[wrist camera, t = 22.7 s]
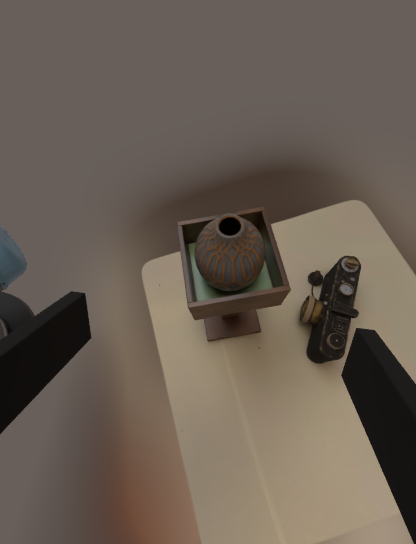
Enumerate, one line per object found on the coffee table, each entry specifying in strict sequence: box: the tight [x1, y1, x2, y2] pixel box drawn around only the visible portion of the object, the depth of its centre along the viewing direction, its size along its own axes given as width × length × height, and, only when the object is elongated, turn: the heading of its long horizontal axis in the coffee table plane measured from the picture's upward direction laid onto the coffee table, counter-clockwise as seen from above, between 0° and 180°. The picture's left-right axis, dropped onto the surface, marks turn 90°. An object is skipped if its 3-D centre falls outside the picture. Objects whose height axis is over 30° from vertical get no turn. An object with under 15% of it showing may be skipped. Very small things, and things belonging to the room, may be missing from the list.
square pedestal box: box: [177, 207, 291, 341], centre depth 36 cm, size 10×10×22 cm
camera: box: [300, 256, 361, 363], centre depth 41 cm, size 16×7×8 cm, turn 158°
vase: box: [194, 214, 265, 291], centre depth 25 cm, size 7×7×9 cm
